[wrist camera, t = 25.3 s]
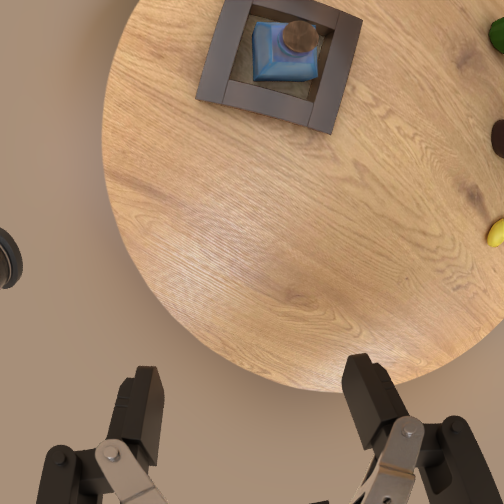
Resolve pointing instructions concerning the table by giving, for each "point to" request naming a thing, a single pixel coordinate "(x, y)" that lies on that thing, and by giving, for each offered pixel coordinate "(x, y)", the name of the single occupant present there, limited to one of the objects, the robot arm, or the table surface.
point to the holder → (269, 101)
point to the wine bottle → (498, 138)
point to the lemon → (496, 234)
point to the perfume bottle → (284, 51)
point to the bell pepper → (497, 34)
